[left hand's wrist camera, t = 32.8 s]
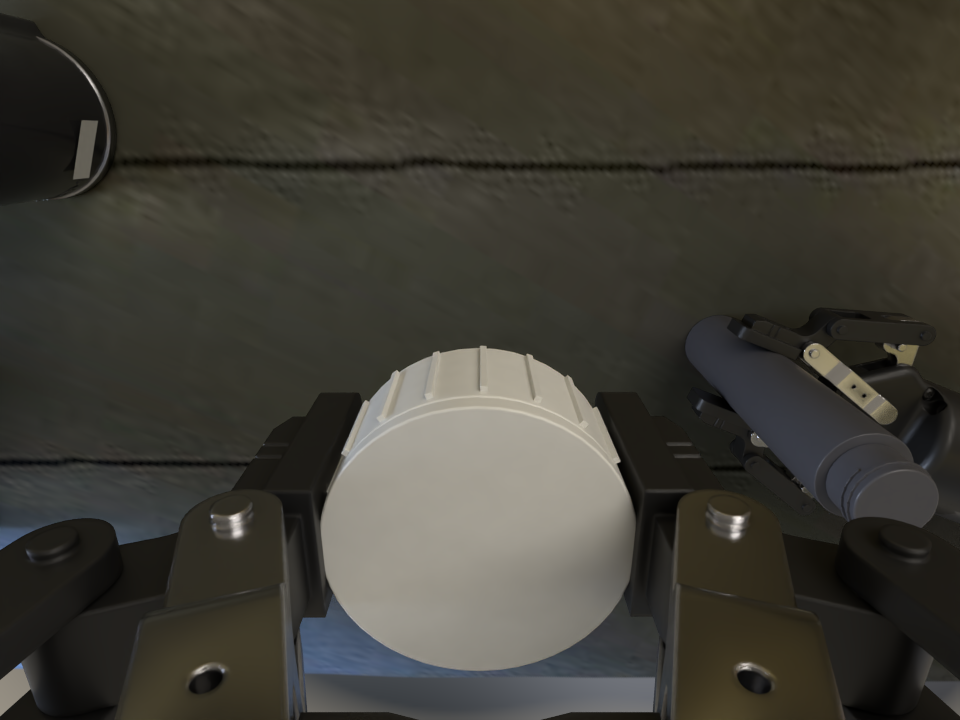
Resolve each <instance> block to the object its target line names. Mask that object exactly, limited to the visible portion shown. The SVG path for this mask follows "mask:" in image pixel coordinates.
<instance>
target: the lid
mask: <svg viewBox="0 0 960 720" xmlns="http://www.w3.org/2000/svg"><path fill="white" fill-rule="evenodd" d="M341 454H342V457H341V459H340V461H339V464H338V466H337V468H336V471H335V473H334V475H333V478H332V480H331V483H330V485H329V487H328V490H327V497H326V499H325V503H324V507H323V510H322V514H321V519H320V527H321V538H322V547H323V556H324V565H325V573H326V578H327V580H328V583H329V586H330V588H331V589H332V591H333V593H334V595H335V597H336V599H337V600H338V602H339V603H340V605H341V606H342V607H343V609H344V610H345V611H346V613H347V614H348V615H349V616H350V617H351V618H352V619H353V620H354V621H355V622H356V623H357V624H358V625H359V627H360V628H362V629H363V630H364V631H365V632H367V633H368V634H369V635H370V636H372V637H373V638H374V639H376V640H377V641H379V642H380V643H382V644H384V645H385V646H387V647H388V648H390V649H392V650H394V651H396V652H398V653H400V654H402V655H404V656H406V657H409V658H412V659H415V660H418V661H420V662H423V663H427V664H431V665H435V666H439V667H444V668H451V669H458V670H474V671H485V670H500V669H507V668H513V667H519V666H522V665H526V664H530V663H534V662H537V661H540V660H542V659H545V658H548V657H550V656H553V655H555V654H557V653H559V652H561V651H563V650H565V649H567V648H569V647H571V646H572V645H574V644H575V643H577V642H578V641H580V640H581V639H583V638H584V637H586V636H587V635H588V634H589V633H590V632H592V631H593V630H594V629H595V628H596V627H598V626H599V625H600V624H601V623H602V622H603V620H604V619H605V618H606V617H607V616H608V615H609V614H610V613H611V612H612V610H613V609H614V607H615V606H616V605H617V603H618V602H619V600H620V599H621V597H622V595H623V593H624V591H625V589H626V587H627V586H628V584H629V581H630V575H631V566H632V557H633V548H634V539H635V529H636V513H635V510H634V507H633V504H632V500H631V497H630V495H629V492H628V490H627V487H626V485H625V482H624V480H623V478H622V475H621V473H620V470H619V468H618V465H617V463H619V462H620V459H619V456H618V454H617V452H616V449H615V447H614V445H613V442H612V440H611V438H610V435H609V433H608V431H607V428H606V426H605V424H604V421H603V419H602V417H601V414H600V412H599V410H598V408H597V407H595V408H592V407H591V405H590V404H589V402H588V401H587V399H586V398H585V397H584V395H583V394H582V393H581V392H580V391H579V390H578V389H577V388H576V387H575V386H574V383H573V381H572V378H571V377H569V376H568V375H567V376H566V377H564V376H563V375H561V374H560V373H558V372H557V371H555V370H554V369H552V368H550V367H549V366H547V365H545V364H543V363H541V362H539V361H537V360H535V359H533V356H532V355H529V354H527V355H526V356H524V355H521V354H517V353H514V352H509V351H504V350H498V349H486V346H480V348H472V349H459V350H454V351H449V352H444V353H440V352H439V351H437V352H434V353H433V356H431V357H428V358H425V359H423V360H421V361H418V362H416V363H414V364H412V365H410V366H408V367H407V368H405V369H404V370H402V371H401V372H398V371H397V370H396V371H395V372H393V373H392V376H391V379H390V380H389V381H388V382H387V383H385V384H384V385H383V386H382V387H381V388H380V389H379V390H378V392H377V393H376V394H375V395H374V396H373V397H372V398H371V400H370V402H368V401H366V400H365V401H364V403H363V404H362V407H361V409H360V411H359V414H358V416H357V418H356V421H355V423H354V425H353V428H352V430H351V432H350V435H349V437H348V439H347V441H346V444H345V446H344V448H343V451H342V453H341Z"/></svg>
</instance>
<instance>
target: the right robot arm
mask: <svg viewBox="0 0 960 720" xmlns="http://www.w3.org/2000/svg"><path fill="white" fill-rule="evenodd" d="M727 329H728V330H729V331H731V332H732V333H733V334H734V335H736V336H737V337H739V338H741V339H743V340H745V341H748V342H750V343H753V344H755V345H758V346H760V347H763V348H765V349H768V350H770V351H773V352H775V353H778V354H781V355H783V356H785V357H788V358H790V359H793V360H796V359H797V357H798V358H799V359H800V360H801V361H803V362H804V364H805V365H807V366H808V367H809V368H810V369H811V370H812V371H814V372H815V373H816V374H817V375H818V376H819V378H818V380H819V381H820V382H821V383H823V384H824V385H825V386H827V387H828V388H829V389H831V390H832V391H834V392H835V393H836V394H838V395H839V396H840V397H842V398H843V399H845V400H846V401H847V402H849V403H850V404H851V405H853V406H854V407H856V408H857V409H858V410H860V411H861V412H862V413H864V414H865V415H866V416H868V417H869V418H871V419H872V420H873V421H875V422H876V423H877V424H879V425H880V426H882V427H883V428H884V429H886V430H887V431H888V432H890V433H891V434H892V435H894V436H895V437H897V438H898V439H899V440H901V441H902V442H903V443H904V444H905V445H906V446H907V447H908V448H909V450H910V452H911V454H912V457H913V461H914V463H917V464H918V465H920V466H921V467H922V468H924V469H925V470H927V472H928V473H929V475H930V476H931V477H932V480H933V481H934V482H935V484H936V486H937V489H938V494H939V500H938V505H937V508H936V510H935V511H936V512H935V515H938V516H940V517H943V518H946V519H948V520H951V521H954V522H956V523H959V524H960V394H959V393H956V392H954V391H951V390H949V389H947V388H944V387H942V386H939V385H937V384H934V383H932V382H930V381H927V380H925V379H923V378H922V377H921V375H920V374H919V372H918V371H917V369H915V368H914V367H913V366H912V364H913V362H914V359H915V356H916V353H917V350H918V347H919V346H925V345H928V344H930V343H931V342H932V341H933V340H934V339H935V337H936V330H935V328H934V327H932V326H930V325H928V324H925V323H923V322H920V321H918V320H916V319H913V318H911V317H909V316H906V315H904V314H900V313H886V312H873V311H859V310H845V309H832V308H817V309H815V310H814V311H813V312H812V313H811V314H810V316H809V321H808V322H807V323H806V324H805V325H804V326H802V327H800V328H797V329H791V328H788V327H785V326H783V325H780V324H778V323H776V322H773V321H771V320H768V319H766V318H763V317H761V316H759V315H756V314H745V316H744V318H743V319H742V321H741V320H738V319H736V318H732V319H731V321H730V323H729V324H728V326H727ZM835 340H848V341H861V342H874V343H875V345H876V346H877V347H879V348H880V349H882V350H884V351H886V352H887V353H888V358H884V359H880V360H875V361H871V362H866V363H862V364H857V365H853V366H848V367H847V366H846V365H844V364H843V363H842V362H840V361H839V360H838V359H837V358H836V357H835V356H834V355H832V354H831V353H830V352H829V351H828V350H827V349H826V348H827V347H829V346H830V345H831V344H832V343H833V342H834V341H835ZM687 398H688V400H689V401H690V402H691V403H692V405H693V406H692V409H693V410H694V411H695V413H696V414H697V415H698V417H699V418H700V419H701V420H702V421H703V422H704V423H706V424H709V425H711V426H714V427H717V428H720V429H722V430H725V431H727V432H730V433H733V434H735V435H736V439H735V440H733V441H732V442H731V444H730V450H731V452H732V453H733V454H734V456H736V457H737V458H738V460H739V461H740V462H741V463H742V466H743V467H744V468H745V470H746V471H747V472H748V473H750V474H751V475H752V476H753V477H754V478H756V479H757V480H758V481H759V482H761V483H762V484H763V485H764V486H766V487H767V488H768V489H769V490H770V491H772V492H773V493H774V494H775V495H777V496H778V497H779V498H780V499H782V500H783V501H784V502H785V503H787V504H788V505H789V506H790V507H791V508H793V509H794V510H795V511H796V512H798V513H799V514H801V515H808V514H810V513H812V512H813V511H814V510H815V508H816V504H815V502H814V501H813V499H812V498H813V495H812V494H811V493H810V492H809V491H808V490H807V489H806V488H805V487H804V486H803V485H802V483H801V482H800V481H799V480H798V479H797V478H796V477H795V476H794V475H793V474H792V473H791V471H790V470H789V469H788V468H787V467H786V468H785V469H784V471H783V470H782V469H781V468H780V467H778V466H777V465H776V464H775V463H774V462H772V461H771V460H770V459H769V458H768V457H766V456H765V455H764V454H763V453H764V448H765V447H768V446H767V445H766V444H765V443H764V442H763V441H762V440H761V439H760V438H759V437H758V435H757V434H756V433H755V432H754V431H753V430H752V429H751V428H750V427H749V426H748V425H747V423H746V422H745V421H744V420H743V419H742V418H741V417H740V416H739V415H738V414H737V413H736V411H735V410H734V409H733V408H732V407H731V406H730V405H729V404H728V403H727V402H726V401H725V399H724V398H721V397H719V396H716V395H713V394H711V393H708V392H705V391H703V390H700V389H698V388H695V387H693V388H692V389H691V391H690V393H689V395H688V396H687Z"/></svg>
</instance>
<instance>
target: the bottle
mask: <svg viewBox="0 0 960 720" xmlns="http://www.w3.org/2000/svg"><path fill="white" fill-rule="evenodd" d="M731 319H732V318H731V317H728V316H724V315H715V316H710V317H707V318H705V319H703V320H701V321H700V322H698V323H697V324H696V325H695V326H694V327H693V328H692V329H691V331H690V332H689V334H688V336H687V339H686V344H685V351H686V355H687V358H688V360H689V361H690V362H691V364H692V365H693V366H694V367H695V368H696V369H697V370H698V371H699V372H700V373H701V374H702V375H703V377H704V378H705V379H706V380H707V381H708V382H709V383H710V384H711V385H712V386H713V387H714V389H715V390H716V391H717V392H718V393H719V394H720V395H721V396H722V397H723V398H724V399H725V401H726V402H727V403H728V404H729V405H730V406H731V407H732V408H733V409H734V410H735V411H736V413H737V414H738V415H739V416H740V417H741V418H742V419H743V420H744V421H745V422H746V423H747V425H748V426H749V427H750V428H751V429H752V430H753V431H754V432H755V433H756V434H757V435H758V437H759V438H760V439H761V440H762V441H763V442H764V443H765V444H766V445H767V446H768V447H769V449H770V450H771V451H772V452H773V453H774V454H775V455H776V456H777V457H778V458H779V459H780V461H781V462H782V463H783V464H784V465H785V466H786V467H787V468H788V469H789V470H790V471H791V473H792V474H793V475H794V476H795V477H796V478H797V479H798V480H799V481H800V482H801V483H802V485H803V486H804V487H805V488H806V489H807V490H808V491H809V492H810V493H811V494H812V495H813V497H814V498H815V499H816V500H817V501H818V502H819V503H820V504H821V505H822V506H823V507H824V508H825V509H826V510H827V511H829V512H831V513H833V514H835V515H838V516H841V517H844V518H845V519H846V520H847V522H849V521H851V520H853V519H856V518H861V517H882V518H889V519H894V520H898V521H902V522H905V523H909V524H912V525H915V526H917V527H919V528H922V527H923V526H924V525H925V524H926V523H927V522H928V521H930V520H931V518H932V517H933V515H934V514H935V512H936V511H935V510H936V508H937V505H938V500H939V494H938V489H937V486H936V484H935V482H934V481H933V480H932V477H931V476H930V475H929V473H928V472H927V470H925V469H924V468H922V467H921V466H920V465H918V464H917V463H914V461H913V457H912V454H911V452H910V450H909V448H908V447H907V446H906V445H905V444H904V443H903V442H902V441H901V440H899V439H898V438H897V437H895V436H894V435H892V434H891V433H890V432H888V431H887V430H886V429H884V428H883V427H882V426H880V425H879V424H877V423H876V422H875V421H873V420H872V419H871V418H869V417H868V416H866V415H865V414H864V413H862V412H861V411H860V410H858V409H857V408H856V407H854V406H853V405H851V404H850V403H849V402H847V401H846V400H845V399H843V398H842V397H840V396H839V395H838V394H836V393H835V392H834V391H832V390H831V389H829V388H828V387H827V386H825V385H824V384H823V383H821V382H820V381H819V380H817V379H816V378H814V377H813V376H812V375H810V374H809V373H808V372H806V371H805V370H803V369H802V368H801V367H799V366H798V365H797V364H795V363H794V362H793V361H791V360H790V359H788V358H787V357H785V356H783V355H781V354H778V353H775V352H773V351H770V350H768V349H765V348H763V347H760V346H758V345H755V344H753V343H750V342H748V341H745V340H743V339H741V338H739V337H737V336H736V335H734V334H733V333H732V332H731V331H729V330H728V329H727V326H728V324H729V323H730V321H731Z"/></svg>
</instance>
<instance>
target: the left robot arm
mask: <svg viewBox="0 0 960 720" xmlns="http://www.w3.org/2000/svg"><path fill="white" fill-rule="evenodd" d="M115 148H116V125H115V119H114V115H113V111H112V108H111V105H110V102H109V100H108V98H107V95H106V93H105V91H104V90H103V88H102V86H101V84H100V83H99V81H98V80H97V78H96V77H95V76H94V74H93V73H92V72H91V71H90V69H89V68H88V67H87V66H86V65H85V64H84V63H83V62H82V61H81V60H80V59H79V58H77V57H76V56H75V55H74V54H73V53H71V52H70V51H68V50H67V49H65V48H64V47H62V46H60V45H59V44H57V43H55V42H53V41H50V40H48V39H45V37H44V36H43V35H42V34H41V32H40V31H39V29H38V27H37V26H36V24H35V23H34V22H32V21H30V20H26V19H22V18H18V17H14V16H10V15H6V14H2V13H0V206H3V205H10V204H17V203H23V202H30V201H40V200H55V199H63V198H69V197H73V196H77V195H80V194H82V193H84V192H86V191H88V190H90V189H91V188H93V187H94V186H95V185H96V184H97V183H98V182H99V181H100V180H101V179H102V178H103V177H104V176H105V174H106V172H107V171H108V169H109V167H110V165H111V163H112V160H113V157H114V153H115ZM361 407H362V401H361V397H360V394H359V393H320V394H319V396H318V397H317V399H316V401H315V402H314V404H313V406H312V407H311V409H310V411H309V412H308V414H307V416H306V417H292V418H290V419H289V420H287V421H286V422H284V423H282V424H281V425H279V426H278V427H276V428H275V429H273V431H272V432H271V434H270V435H269V437H268V438H267V440H266V441H265V443H264V446H262V447H261V448H260V450H259V451H258V453H257V454H256V458H255V459H253V460H252V461H251V463H250V464H249V466H248V467H247V469H246V470H245V472H244V473H243V474H242V476H241V477H240V479H239V480H238V482H237V483H236V485H235V486H234V488H233V489H232V490H231V491H229V492H225V493H222V494H218V495H216V496H213V497H210V498H208V499H206V500H204V501H202V502H201V503H199V504H197V505H196V506H194V507H193V508H192V509H191V510H189V512H188V513H187V514H186V515H185V516H184V518H183V519H182V521H181V524H180V527H179V532H178V533H174V534H171V535H168V536H163V537H159V538H154V539H149V540H144V541H139V542H133V543H128V544H123V545H119V544H118V540H117V537H116V533H115V530H114V527H113V526H112V525H111V524H110V523H108V522H106V521H103V520H100V519H93V518H81V519H72V520H66V521H62V522H58V523H54V524H51V525H48V526H45V527H42V528H40V529H37V530H35V531H32V532H30V533H28V534H26V535H24V536H22V537H21V538H19V539H17V540H16V541H14V542H12V543H11V544H9V545H8V546H6V547H5V548H3V549H1V550H0V680H1V679H2V678H3V677H4V676H5V675H7V674H8V673H9V672H10V671H11V670H13V669H14V668H15V667H16V666H17V665H18V664H20V663H22V666H23V668H24V671H25V674H26V677H27V680H28V682H29V685H30V688H31V689H30V690H29V691H28V692H27V693H26V694H25V695H24V696H23V697H21V698H20V699H19V700H18V701H17V702H16V703H15V704H14V705H12V706H11V707H10V708H9V709H8V710H7V711H6V712H5V713H4V714H2V715H1V716H0V720H417V719H413V718H409V717H405V716H401V715H397V714H393V713H389V712H307V704H306V690H305V678H304V664H303V651H302V643H301V636H300V629H299V627H300V624H301V621H302V618H303V617H326V613H327V610H328V607H329V604H330V601H331V598H332V594H333V591H332V589H331V588H330V586H329V583H328V580H327V578H326V573H325V565H324V556H323V547H322V538H321V527H320V519H321V514H322V510H323V507H324V503H325V499H326V497H327V490H328V487H329V485H330V483H331V480H332V478H333V475H334V473H335V471H336V468H337V466H338V464H339V461H340V459H341V457H342V454H341V453H342V451H343V448H344V446H345V444H346V441H347V439H348V437H349V435H350V432H351V430H352V428H353V425H354V423H355V421H356V418H357V416H358V414H359V411H360V409H361ZM595 407H597V408H598V410H599V412H600V414H601V417H602V419H603V421H604V424H605V426H606V428H607V431H608V433H609V435H610V438H611V440H612V442H613V445H614V447H615V449H616V452H617V454H618V456H619V459H620V462H619V463H617V465H618V468H619V470H620V473H621V475H622V478H623V480H624V482H625V485H626V487H627V490H628V492H629V495H630V497H631V500H632V504H633V507H634V510H635V513H636V529H635V539H634V548H633V557H632V566H631V575H630V581H629V584H628V586H627V587H626V589H625V591H624V597H625V600H626V603H627V606H628V610H629V613H630V616H653V618H654V621H655V624H656V627H657V630H658V632H659V635H660V636H659V643H658V651H657V664H656V677H655V690H654V704H653V712H571V713H567V714H563V715H559V716H555V717H551V718H547V719H543V720H960V716H959V715H958V714H956V713H955V712H954V711H953V710H952V709H951V708H950V707H949V706H947V705H946V704H945V703H944V702H943V701H942V700H941V699H940V698H939V697H937V696H936V695H935V694H934V693H933V692H932V691H931V690H930V689H928V688H927V687H926V686H925V685H924V684H925V681H926V678H927V675H928V673H929V670H930V667H931V664H932V661H933V659H936V660H937V661H938V662H939V663H940V664H941V665H943V666H944V667H945V668H946V669H947V670H949V671H950V672H951V673H952V674H953V675H955V676H956V677H957V678H958V679H959V680H960V550H959V549H957V548H955V547H954V546H952V545H951V544H949V543H948V542H946V541H945V540H943V539H941V538H940V537H938V536H936V535H934V534H933V533H930V532H928V531H926V530H924V529H922V528H919V527H917V526H915V525H912V524H909V523H905V522H902V521H898V520H894V519H889V518H882V517H861V518H856V519H853V520H851V521H849V522H847V523H846V524H845V525H844V528H843V530H842V534H841V538H840V542H839V545H836V544H831V543H826V542H821V541H816V540H811V539H806V538H800V537H795V536H791V535H787V534H783V533H782V532H781V527H780V524H779V521H778V519H777V518H776V516H775V515H774V514H773V513H772V512H771V510H769V509H768V508H767V507H766V506H764V505H763V504H761V503H759V502H758V501H756V500H754V499H752V498H750V497H747V496H744V495H742V494H738V493H735V492H731V491H726V490H724V489H723V487H722V486H721V484H720V483H719V481H718V480H717V478H716V477H715V475H714V474H713V473H712V471H711V470H710V468H709V467H708V465H707V464H706V462H705V461H704V459H703V458H701V455H700V453H699V452H698V450H697V449H696V447H695V446H693V445H692V442H691V440H690V439H689V437H688V436H687V434H686V433H685V431H684V430H683V428H681V427H679V426H678V425H676V424H675V423H673V422H672V421H670V420H669V419H667V418H666V417H664V416H650V414H649V413H648V411H647V409H646V408H645V406H644V404H643V403H642V401H641V399H640V398H639V396H638V394H637V393H636V392H598V393H597V396H596V400H595Z"/></svg>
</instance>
